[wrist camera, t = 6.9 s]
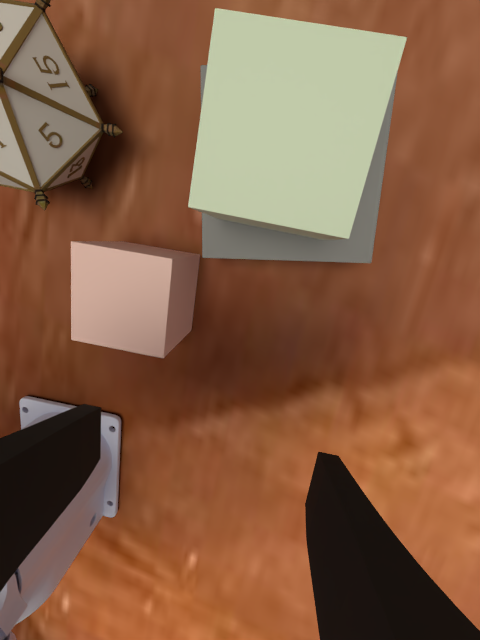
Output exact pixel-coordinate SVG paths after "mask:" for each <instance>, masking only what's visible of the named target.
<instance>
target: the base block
mask: <svg viewBox="0 0 480 640" xmlns="http://www.w3.org/2000/svg"><path fill="white" fill-rule="evenodd" d="M206 72H207V65H201V109H202V101H203V94H204V87H205V79H206ZM397 72H398V70H397ZM396 79H397V74H396V77H395V81H394V84H393V88H392V91H391V94H390V98H389V101H388V105H387V108H386V112H385V115H384V119H383V122H382V126H381V129H380V133H379V136H378V140H377V143H376V146H375V150H374V153H373V157H372V160H371V164H370V167H369V171H368V174H367V178H366V181H365V185H364V188H363V192H362V195H361V198H360V202H359V205H358V209H357V212H356V216H355V219H354V223H353V226H352V230H351V233H350V237H349V239H336V240H321V239H316V238H311V237H306V236H301V235H296V234H291V233H286V232H281V231H276V230H271V229H266V228H261V227H256V226H251V225H246V224H241V223H236V222H231V221H226V220H221V219H217V218H215V217H212V216H210V215H207V214H205V213H202V258H228V259H259V260H290V261H321V262H352V263H371V260H372V253H373V246H374V239H375V231H376V224H377V217H378V210H379V202H380V195H381V188H382V181H383V173H384V166H385V159H386V152H387V144H388V137H389V130H390V123H391V115H392V108H393V101H394V94H395V86H396Z"/></svg>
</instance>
